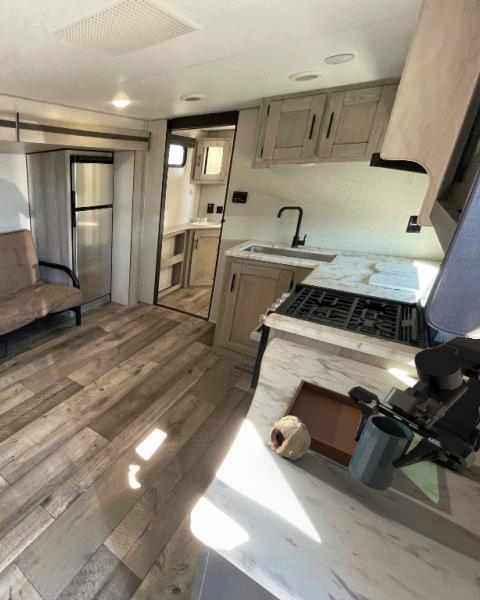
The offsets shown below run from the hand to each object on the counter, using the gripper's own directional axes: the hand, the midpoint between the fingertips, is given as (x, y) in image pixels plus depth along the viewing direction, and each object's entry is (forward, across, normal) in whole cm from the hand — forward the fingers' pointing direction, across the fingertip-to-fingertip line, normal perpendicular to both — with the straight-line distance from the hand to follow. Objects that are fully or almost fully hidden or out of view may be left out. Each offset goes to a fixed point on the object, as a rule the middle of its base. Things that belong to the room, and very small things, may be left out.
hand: (374, 453), depth 64 cm
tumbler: (+4, 0, +6) cm, 7 cm away
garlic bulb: (+11, -14, +7) cm, 19 cm away
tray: (-3, -18, +21) cm, 27 cm away
